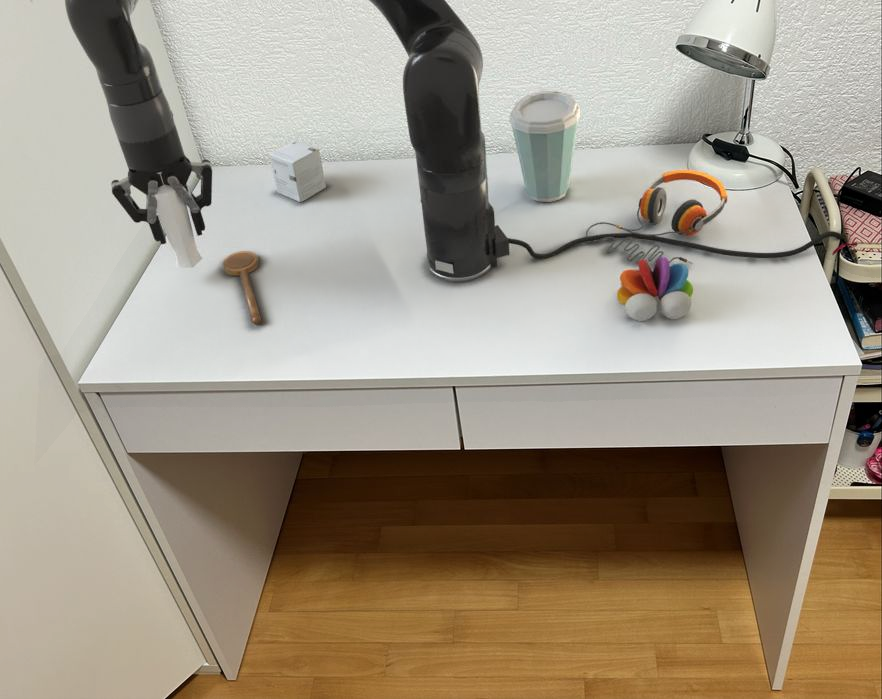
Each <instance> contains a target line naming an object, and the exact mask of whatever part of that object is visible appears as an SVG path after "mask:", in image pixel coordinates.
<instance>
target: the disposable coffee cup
mask: <svg viewBox="0 0 882 699" xmlns="http://www.w3.org/2000/svg"><path fill="white" fill-rule="evenodd" d="M580 118H581V110H580V107H579V106H578V105H577V101H576V100H575V99H574V97H573V96H572V95H571V94H569V93H566V92H562V91H557V90H541V91H537V92H533V93H530V94H526V96H524V97H522V98H521V99H519V100H517V102H515V104H514V106H513V107H512V110H511V111H510V114H509V120H508V122H509V123H510V125H511V129H512V133H513V137H514V142H515V147H516V152H517V157H518V160H519V165H520V169H521V174H522V180H523V183H524V187H525V191H526V192H527V194H528V196H529V197H530V199H532V200H534V201H537V202H541V203H542V202H544V203H550V202H554V201H555V202H556V201H559V200H561V199H562V198H564V197H565V196H566V195H567V192H568V191H569V187H570V183H571V181H570V180H571V174H572V168H573V161H574V153H575V147H576V140H577V131H578V127H579V126H578V124H579V121H580Z"/></svg>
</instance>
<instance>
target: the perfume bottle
mask: <svg viewBox="0 0 882 699" xmlns="http://www.w3.org/2000/svg"><path fill="white" fill-rule="evenodd" d="M161 173H162V172H159V173H157V174H160V176H161ZM161 179H162V177H161ZM162 182H163V180H162ZM152 196H153V195H152ZM154 196H155V198H156V199H157V209H156V212H157V215H158V217H159V220H160V223H161V226H162V228H163V231H164V234H165V236H166V238H167V239H168V241H169V244H170V246H171V249H172V251H173V253H174V256H175V261H176V268H178V269H179V268H180V269H181V268H183V269H185V268H189V269H190V268H195V266H197V264H198V263H200V262H201V261H202V260H203V256H202V255H201V253H200V251H199V250H198V249H197V244H196V240H195V235H194V231H193V227H192V223H191V218H190V214H189V208H188V206H187V205H186V203H184V202H183V201H182V199H181V198H180V197H179V195H178V194H177V193H176V191H175V190H174V189H173V188H172V187H171V186H169V185H164V183H163V186H161V187H159V188H158V192H157V194H155V195H154ZM152 202H153V201H152Z"/></svg>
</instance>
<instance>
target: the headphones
mask: <svg viewBox="0 0 882 699" xmlns="http://www.w3.org/2000/svg"><path fill="white" fill-rule="evenodd" d="M674 181H693V182H698V183H701V184H704V185H706V186H708V187H710V188H712V189H713V190H714V191H716V192H717V194H718V195H719V197H720V203H719V205H718V206H717V207H716V208H715V209H714V210H713V211H711V212H710V213H709V214H707V211H706V209H705V208H704V206H703V203H701V202H700V201H698V200H697V199H688V200H686V201H684V202H683V203H682V204H680V206H678V207H677V209H676V210H675V212H674V214H673V215H672V218H671V222H670V227H671V230H672V231H666V232H662V233H642V232H641V233H640V232H637V231H640V230H642V229H643V228H644V224H643V223H642V221H641V218H642V219H644V220H646V221H648V222H649V223H650V224H653V225H657V224H658V223H660V222H661V220H662V219H663V217H664V214H665V212H666V206H667V201H668V200H667V199H668V198H667V192H666V190H665V188H664V187H660V186H659V185H662V184H667V183H671V182H674ZM727 202H728V194H727V190H726V187H725V185H724V184H723V183H722V182H721V181H720V180H719V179H718V178H717V177H714V176H713V175H711V174H708V173H705V172H703V171H699V170H693V169H676V170H670V171H667V172H664V173H662V174H661V176H659V177H657V178H656V179H654V180H653V181H652V182H651V183H650V184H649V186H648V187H647V189H646V190H645V192H644V193H643V194H642V197H641V198H640V199H639V201H638V209H637V212H636V218H637V221H638V222H639V223H640V227H639V228H635V229H634V228H633V229H632V228H626V227H623V226H621V225H619V224H614V223H611V222H605V221H603V222H602V221H601V222H596V223H593V224H591V225H589V227H588V228H587V229H586V232H585V237H588V236H589V235H588V233H589V230H590V229H591V228H593V227H596V226H597V225H609V226H612V227H614V228H616V229H618V230H622V231H625V232H626V233H633V234H638V235H644V236H659V237H660V236H664V235H667V234H668V235H669V234H677V235H681V236H682V235H683V236H687V237H690V236H691V237H692V236H694V235H695V234H697V233H699V231H701V230H702V228H703V227H705V225H707V224H708V223H710V222H711V221H713V220H714V219H715V218H716V217H717V216H718V215H720V214H721V212H723V209H724V208H725V206H726V204H727ZM639 213H640V214H639ZM639 215H640V216H641V218H640V216H639ZM608 238H612V239H611V240H613V241H612V243H611V244H610V246H609V247H608V248H607V250H606V253H607V254H611V253H613V252H614V251H615V250H616V249H617V248H618V247H619V246H621V245H622V244H623V243H624V242H625V241H627V240H631V241H630V242H629V243H628V244H627V245H625V247H624V248H623V251H625V252H629V251H632V252H630V254H628V256H627V258H626V260H627V261H628V262H632V261H634V260H635V259H636V258H637V259H636V260H635V263H636V264H638V262H639V260H641V259H645V258H646V257H647V256H648V255H649V254H650V253H651V252H652V250H654V249H655V248H656V247H657V248H656V249H655V250H654V251H653V252H652V253H651V254H650V255H649V257H648V258H647V262H652V261H653V260H654V259H655V258H656V257H657V256H658V255H659V256H658V257H657V258H656V259H655V260H654V262H653V267H654V266H655V264H656V261H657V260H658V258H660V257H663V255H664V251H662V250H660V248H661V246H660V245H659V244H654V245H653V246H652V247H650V249H649V250H648V251H646V254H645V251H639V252H638V253H637V254H635V252H636V251H637V250H638V249H639V248H640V244H639V243H635V244H634V245H632V246H631V247H630V245H631V244H632V243H634V238H632V237H627V238H623V240H621V241H620V242H619V243H618V244H617V245H615V247H613V246H614V244H615V243H616V238H614V237H605V238H602V239H599V240H595V241H589V243H598V242H601V241H604V240H609V239H608ZM612 247H613V248H612ZM628 247H630V248H628ZM659 250H660V251H659ZM633 254H635V255H634V256H633V257H632V258H630V257H631V256H632V255H633ZM639 255H640V256H639ZM638 256H639V257H638ZM677 259H678V260H679V261H681V262H683V263H687V264H690V265H693V263H694V262H692V261H690V260H688V259H687V258H684V257H682V256H674V257H672V258H671V259H670V260H669V264H671V263H672V262H673V261H674V260H677Z"/></svg>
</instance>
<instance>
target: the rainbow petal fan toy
mask: <svg viewBox="0 0 882 699" xmlns="http://www.w3.org/2000/svg"><path fill="white" fill-rule="evenodd" d="M657 258H658V257H657ZM669 261H670V260H669V258H667V257H665V256H661V257H660V258H658V260H657V261H656V264H655V266H654V265H653V270H652V268H651V265H650V264H649V263H648V262H649V261H648V260H646V259H645V258H644V259H642V258H640V259H639V260H638V263H637V266H638V267H631V268H629V269H625V270H623V271H622V272H621V273H620V276H619V280H620V287H619V288H618V290H617V292H616V298H617V301H618V303H620V304H621V305H622V306H624V307H625V308H624V309H625V312H626V314H627V315H628V317H630V318H631V319H633V320H634V321H638V322H644V321H648V320H649V319H652V318H653V317H654V315H655V314H656V313H657V310H658V309H659V311H660V312H661V314H662V315H663V316H664V317H666V318H668V319H671V320H678V319H681V318H683V317H685V316H686V315H687V314H688V313H689V311H690V310H691V307H692V299H691V297H692V295H693V294H694V286H693V284H692V282H691V281H690V280H689V279H688V277H689V268H688V266H686V265H685V264H684V263H674V264H671V263H669ZM657 297H658V300H659V303H658V301H657V299H656V298H657Z"/></svg>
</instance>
